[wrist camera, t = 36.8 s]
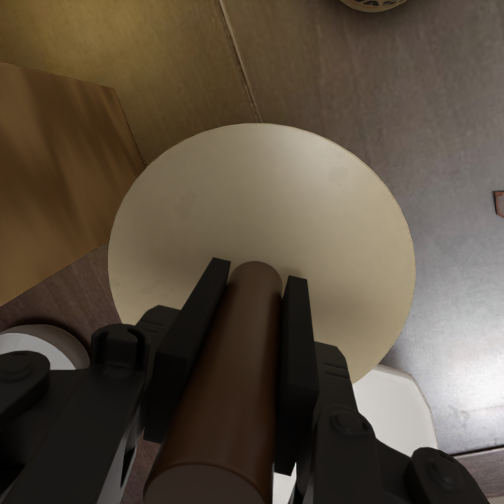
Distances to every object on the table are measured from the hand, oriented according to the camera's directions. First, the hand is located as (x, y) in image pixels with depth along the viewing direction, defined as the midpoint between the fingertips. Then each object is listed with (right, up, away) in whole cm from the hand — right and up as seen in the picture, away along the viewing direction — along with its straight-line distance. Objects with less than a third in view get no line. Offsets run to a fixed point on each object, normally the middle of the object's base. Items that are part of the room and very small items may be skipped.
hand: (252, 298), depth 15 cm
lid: (0, +1, +2) cm, 2 cm away
